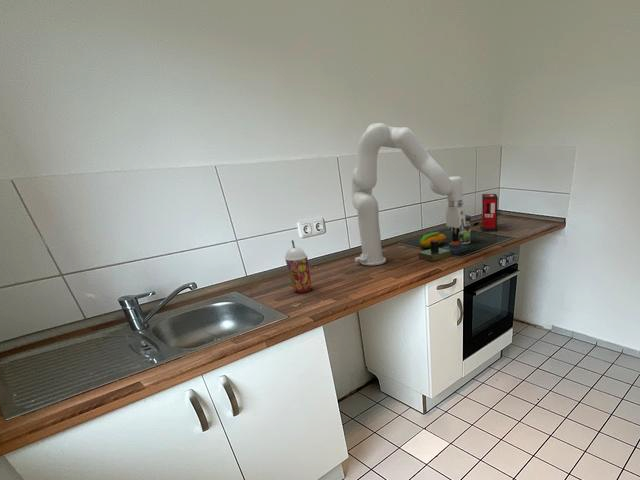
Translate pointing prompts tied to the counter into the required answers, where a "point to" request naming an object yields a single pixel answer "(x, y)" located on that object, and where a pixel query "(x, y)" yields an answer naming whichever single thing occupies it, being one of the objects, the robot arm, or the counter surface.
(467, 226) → the coffee can
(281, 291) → the counter surface
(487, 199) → the cleaning product box
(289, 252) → the smoothie
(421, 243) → the corn
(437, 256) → the panel
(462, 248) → the button box
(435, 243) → the knob
